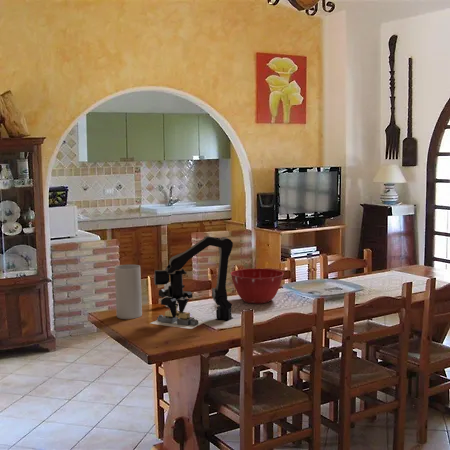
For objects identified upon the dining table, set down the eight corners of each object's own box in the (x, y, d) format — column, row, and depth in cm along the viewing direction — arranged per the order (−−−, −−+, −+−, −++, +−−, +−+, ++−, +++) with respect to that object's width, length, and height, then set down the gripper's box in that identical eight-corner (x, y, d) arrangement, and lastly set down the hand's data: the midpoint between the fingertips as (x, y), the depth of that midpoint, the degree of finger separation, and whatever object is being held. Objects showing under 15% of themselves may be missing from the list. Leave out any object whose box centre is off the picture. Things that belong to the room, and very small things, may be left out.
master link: (190, 323, 298) (189, 312, 297) (186, 324, 295) (186, 314, 295) (168, 320, 303) (168, 310, 303) (165, 321, 301) (164, 311, 300)
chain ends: (200, 323, 297) (199, 318, 297) (193, 326, 292) (193, 321, 291) (162, 318, 307) (162, 313, 307) (155, 321, 302) (155, 316, 301)
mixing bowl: (258, 292, 361) (258, 265, 359) (295, 300, 339) (294, 272, 337) (220, 300, 343) (219, 272, 341) (256, 310, 321) (255, 280, 319)
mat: (205, 322, 300) (205, 321, 299) (191, 329, 288) (191, 328, 288) (165, 317, 310) (165, 316, 310) (149, 324, 299) (149, 323, 299)
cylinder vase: (129, 321, 305) (127, 270, 302) (111, 317, 313) (109, 267, 310) (147, 315, 315) (145, 266, 312) (129, 312, 323) (127, 263, 320)
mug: (168, 308, 329) (167, 285, 328) (162, 305, 335) (161, 283, 333) (185, 305, 335) (184, 282, 333) (179, 302, 340) (178, 280, 339)
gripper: (172, 278, 309) (174, 309, 311) (150, 286, 293) (152, 319, 295) (192, 280, 304) (193, 312, 306) (171, 288, 288) (172, 321, 289)
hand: (177, 316), depth 299 cm, fingers open, 6 cm apart
